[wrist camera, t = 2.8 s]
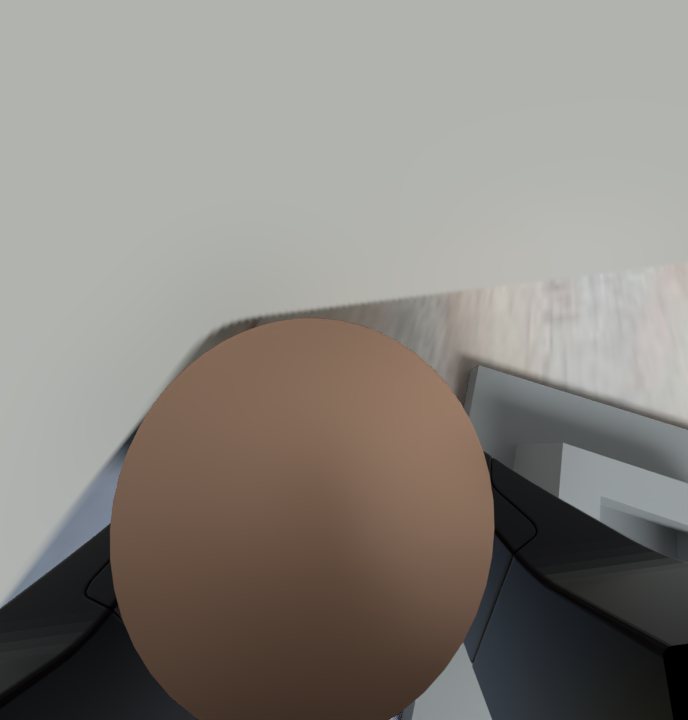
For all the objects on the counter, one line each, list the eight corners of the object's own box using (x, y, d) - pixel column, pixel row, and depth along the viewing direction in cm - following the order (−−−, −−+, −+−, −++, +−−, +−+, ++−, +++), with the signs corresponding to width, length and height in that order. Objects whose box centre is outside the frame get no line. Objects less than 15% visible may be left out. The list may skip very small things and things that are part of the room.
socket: (774, 893, 10) (1046, 1172, 6) (399, 728, 11) (430, 873, 7) (729, 451, 15) (866, 452, 11) (470, 370, 16) (511, 345, 12)
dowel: (358, 510, 14) (452, 840, 2) (283, 482, 14) (21, 639, 2) (380, 431, 15) (518, 373, 3) (311, 407, 15) (220, 282, 4)
